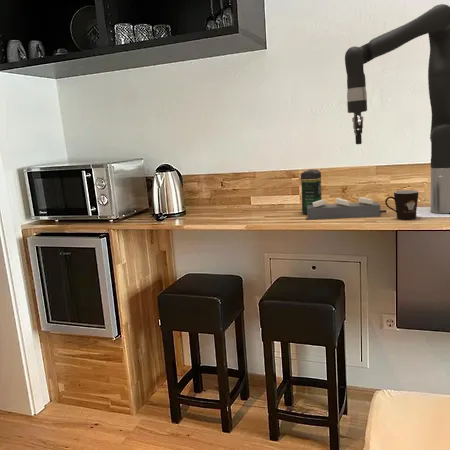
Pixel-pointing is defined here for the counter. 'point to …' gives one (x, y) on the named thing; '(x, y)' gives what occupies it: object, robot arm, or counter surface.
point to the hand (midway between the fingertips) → (358, 144)
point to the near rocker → (366, 200)
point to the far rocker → (319, 203)
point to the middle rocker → (342, 201)
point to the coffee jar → (310, 188)
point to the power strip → (344, 211)
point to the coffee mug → (405, 204)
